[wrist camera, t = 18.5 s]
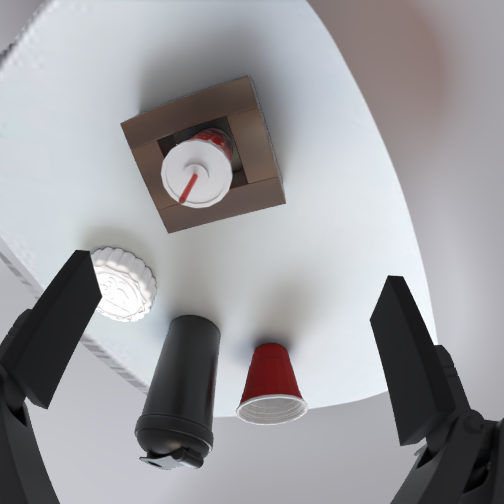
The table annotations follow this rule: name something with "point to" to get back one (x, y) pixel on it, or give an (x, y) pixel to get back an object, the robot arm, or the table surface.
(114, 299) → the mooncake
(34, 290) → the table surface
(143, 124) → the holder
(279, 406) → the plastic cup
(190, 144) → the beverage cup
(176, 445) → the water bottle
